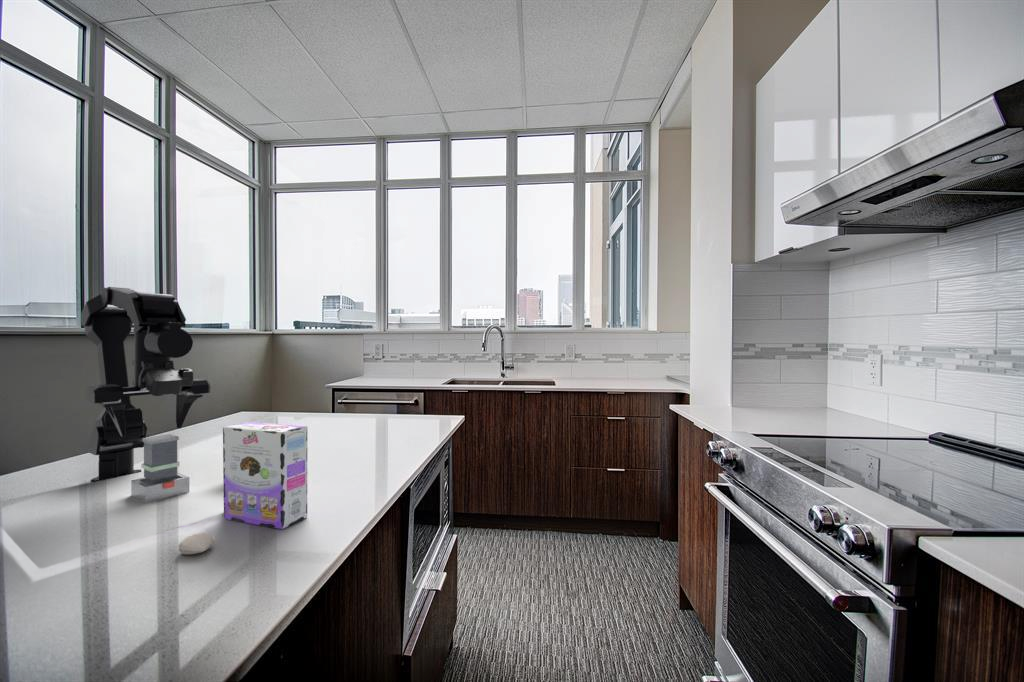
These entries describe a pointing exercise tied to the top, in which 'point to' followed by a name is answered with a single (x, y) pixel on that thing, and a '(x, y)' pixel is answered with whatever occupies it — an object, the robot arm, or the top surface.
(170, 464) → the column
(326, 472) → the top surface
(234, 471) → the candy box
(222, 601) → the top surface
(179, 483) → the stand base
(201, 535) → the white rounded lump
